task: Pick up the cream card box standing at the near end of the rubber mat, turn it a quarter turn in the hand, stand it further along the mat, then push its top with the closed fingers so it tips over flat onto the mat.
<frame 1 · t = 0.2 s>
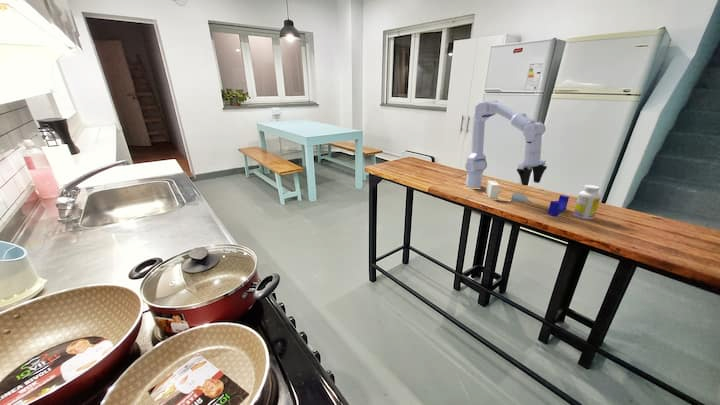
hand: (530, 183, 121), 10 cm above the table, tool pointing down, fingers open, 7 cm apart
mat: (504, 197, 135), on the table
blue l-shaped block: (554, 212, 119), on the table
card box: (491, 196, 136), point 1 cm above the table, touching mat
supplement bottle: (583, 217, 114), on the table
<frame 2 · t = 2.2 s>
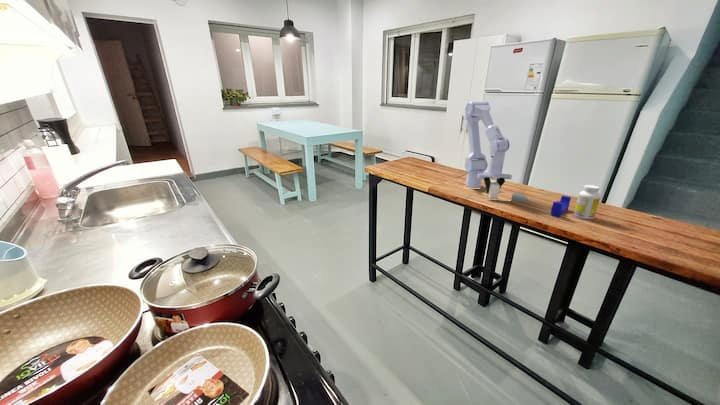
hand: (491, 192, 135), 2 cm above the table, tool pointing down, fingers closed on card box, 3 cm apart
card box: (491, 196, 136), point 1 cm above the table, touching gripper, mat
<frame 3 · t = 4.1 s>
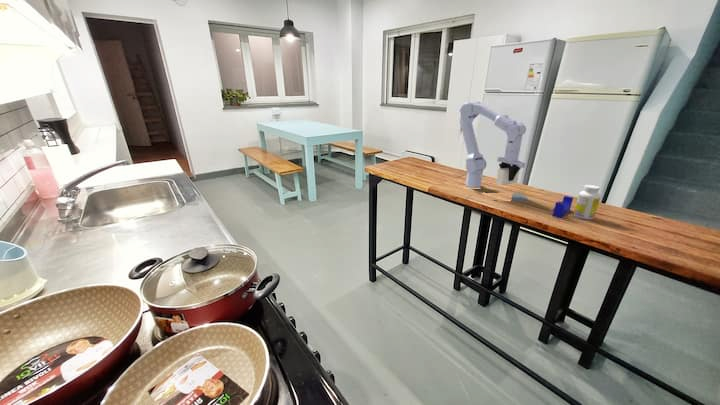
hand: (507, 179, 133), 9 cm above the table, tool pointing down, fingers closed on card box, 3 cm apart
card box: (506, 183, 134), point 7 cm above the table, touching gripper
when the fingers open (3 cm above the table, at t = 6.3 s): card box stays where it is, resting on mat.
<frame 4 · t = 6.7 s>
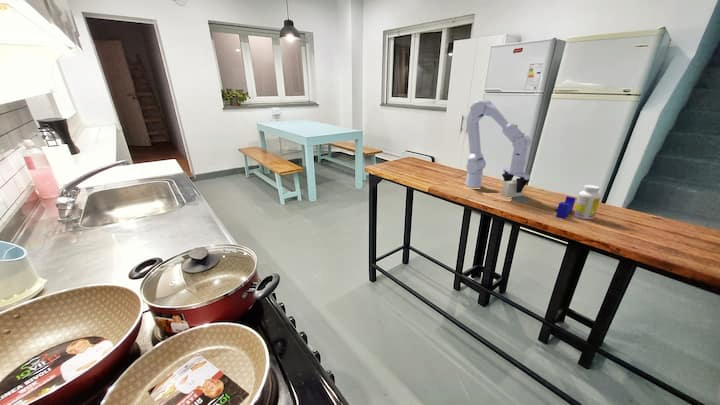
hand: (512, 190, 135), 3 cm above the table, tool pointing down, fingers open, 7 cm apart
card box: (511, 195, 136), point 1 cm above the table, touching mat
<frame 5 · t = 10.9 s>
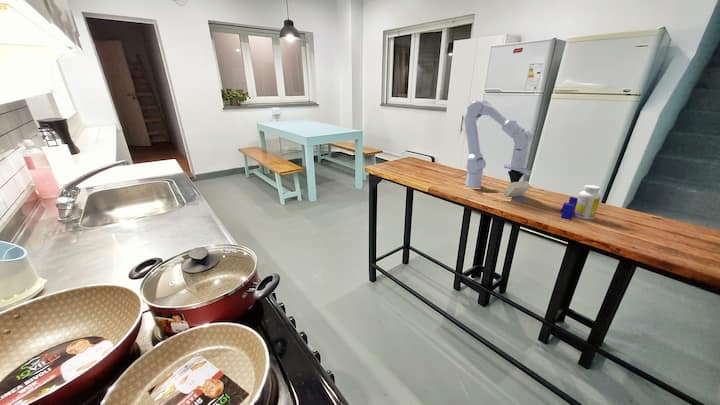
hand: (513, 185, 135), 5 cm above the table, tool pointing down, fingers closed
blue l-shaped block: (566, 214, 116), on the table
card box: (512, 193, 136), point 2 cm above the table, tilted 33°, touching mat
everything else where it was.
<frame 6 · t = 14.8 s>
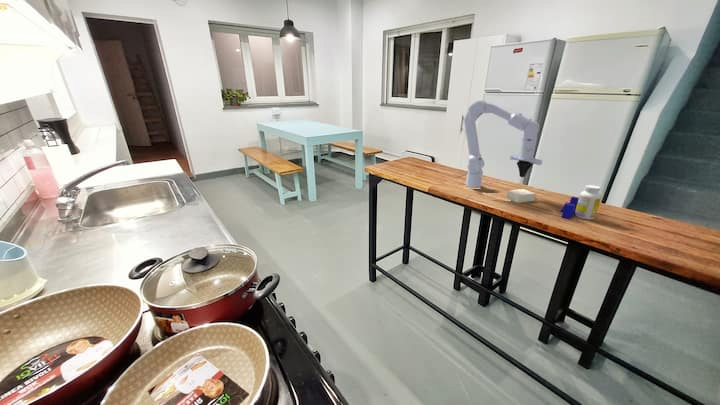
hand: (522, 176, 135), 9 cm above the table, tool pointing down, fingers closed
card box: (515, 193, 134), point 2 cm above the table, tilted 90°, touching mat
at the end: card box tilted 90°; card box inside the target area (3.4 cm from its centre), point 2.3 cm above the table; the gripper is holding nothing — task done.
